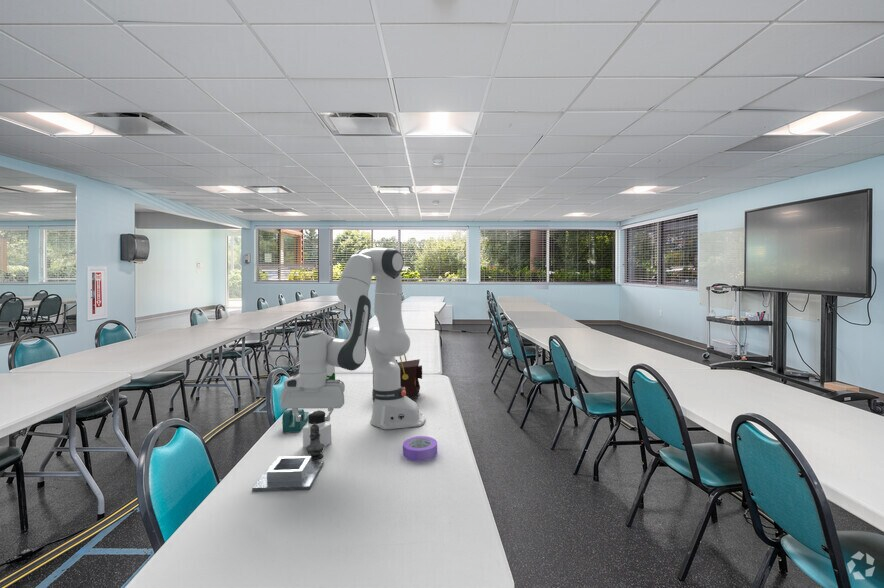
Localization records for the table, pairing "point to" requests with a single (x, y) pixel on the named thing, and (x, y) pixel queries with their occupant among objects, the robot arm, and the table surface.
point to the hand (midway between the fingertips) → (313, 421)
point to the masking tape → (420, 448)
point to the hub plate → (289, 474)
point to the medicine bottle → (323, 428)
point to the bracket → (293, 421)
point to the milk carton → (330, 372)
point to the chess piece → (315, 444)
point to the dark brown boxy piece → (410, 376)
